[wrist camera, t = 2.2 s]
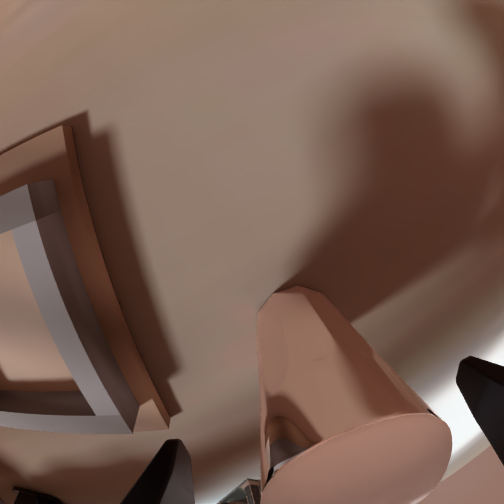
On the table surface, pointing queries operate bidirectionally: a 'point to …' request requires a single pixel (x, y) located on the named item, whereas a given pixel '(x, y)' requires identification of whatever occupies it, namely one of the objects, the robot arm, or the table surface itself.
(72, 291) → the frame
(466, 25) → the table surface
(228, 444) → the table surface
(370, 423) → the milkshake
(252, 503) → the eiffel tower figurine
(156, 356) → the table surface
